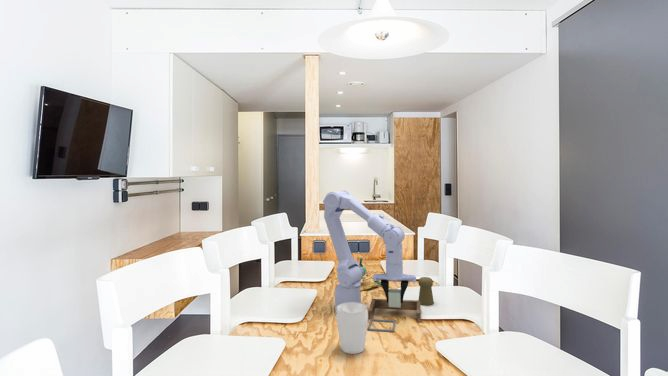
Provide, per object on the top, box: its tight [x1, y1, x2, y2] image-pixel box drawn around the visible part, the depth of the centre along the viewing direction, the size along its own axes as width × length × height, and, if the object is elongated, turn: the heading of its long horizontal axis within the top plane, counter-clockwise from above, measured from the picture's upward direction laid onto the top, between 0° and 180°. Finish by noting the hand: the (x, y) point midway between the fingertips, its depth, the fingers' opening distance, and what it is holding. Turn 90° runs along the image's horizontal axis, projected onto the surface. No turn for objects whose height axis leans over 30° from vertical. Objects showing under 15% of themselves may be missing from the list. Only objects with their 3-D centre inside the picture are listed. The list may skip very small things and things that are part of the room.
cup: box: [335, 302, 369, 355], centre depth 106 cm, size 9×9×12 cm
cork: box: [417, 276, 435, 307], centre depth 138 cm, size 6×6×11 cm
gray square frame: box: [366, 318, 397, 333], centre depth 118 cm, size 8×8×2 cm
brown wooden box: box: [367, 298, 422, 323], centre depth 128 cm, size 17×12×4 cm
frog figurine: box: [358, 257, 382, 291], centre depth 163 cm, size 10×18×15 cm, turn 86°
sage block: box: [388, 288, 401, 308], centre depth 129 cm, size 4×4×5 cm
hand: (394, 301), depth 129 cm, fingers closed on sage block, 4 cm apart
